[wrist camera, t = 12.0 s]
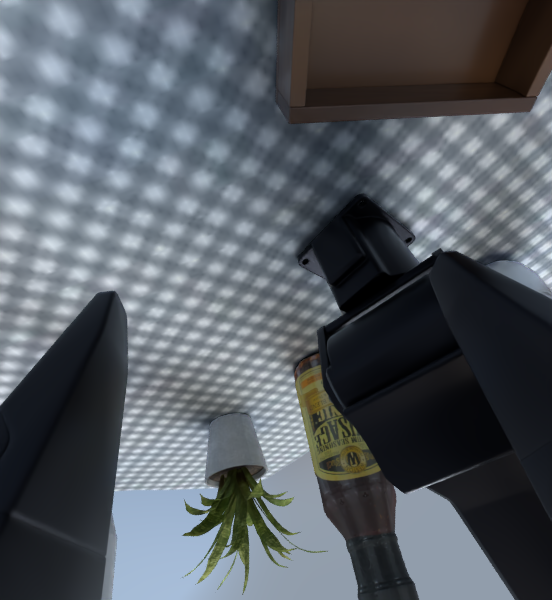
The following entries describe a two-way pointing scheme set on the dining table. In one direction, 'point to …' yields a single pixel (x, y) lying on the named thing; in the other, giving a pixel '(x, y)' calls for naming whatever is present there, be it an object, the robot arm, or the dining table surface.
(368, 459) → the sauce bottle
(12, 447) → the robot arm
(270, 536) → the house plant
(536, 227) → the dining table surface
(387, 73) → the brown wooden tray
